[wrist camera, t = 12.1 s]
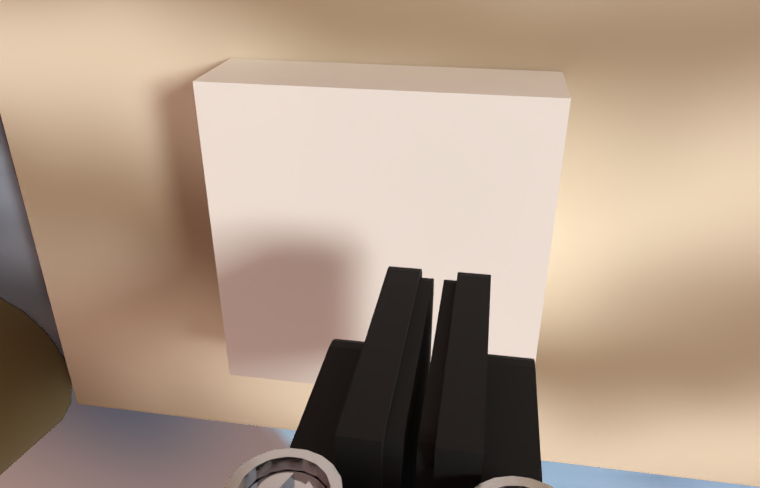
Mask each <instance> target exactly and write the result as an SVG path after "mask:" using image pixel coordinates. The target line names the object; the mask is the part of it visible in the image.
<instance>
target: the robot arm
mask: <svg viewBox="0 0 760 488" xmlns="http://www.w3.org/2000/svg"><path fill="white" fill-rule="evenodd" d="M490 289H491V275H489V274H477V273H465V272H458V274H457V281H456V280H444V282H443V289H442V295H441V301H440V307H439V313H438V319H437V325H436V332H435V338H434V344H433V350H432V356H431V339H432V317H433V295H434V279H433V278H422V269H417V268H405V267H393V266H389V267H388V269H387V272H386V275H385V279H384V282H383V285H382V288H381V291H380V294H379V298H378V301H377V304H376V307H375V310H374V313H373V317H372V320H371V323H370V326H369V329H368V332H367V336H366V339H365V342H363V341H353V340H343V339H334V340H332V342H331V344H330V346H329V348H328V351H327V353H326V356H325V359H324V361H323V364H322V366H321V369H320V371H319V374H318V376H317V379H316V382H315V384H314V387H313V389H312V392H311V394H310V397H309V400H308V402H307V405H306V407H305V410H304V412H303V415H302V417H301V420H300V423H299V425H298V428H297V430H296V433H295V435H294V438H293V441H292V443H291V446H290V448H286V449H277V450H272V451H269V452H266V453H263V454H260V455H257V456H255V457H254V458H252V459H251V460H249V461H248V462H246V463H244V464H243V465H241V467H240V468H239V469H238V470H237V471H236V472H235V473H234V474H233V475H232V476H231V477H230V479H229V480H228V482H227V483H226V485H225V486H224V488H553V487H551V486H550V485H548V484H545V483H542V470H541V453H540V436H539V419H538V402H537V385H536V368H535V360H534V359H532V358H522V357H512V356H502V355H493V354H488V337H489V313H490ZM430 361H431V362H430Z"/></svg>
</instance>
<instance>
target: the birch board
mask: <svg viewBox="0 0 760 488" xmlns="http://www.w3.org/2000/svg"><path fill="white" fill-rule="evenodd" d="M230 58H233V59H258V60H283V61H308V62H333V63H358V64H383V65H408V66H433V67H458V68H483V69H507V70H532V71H557V72H563V74H564V77H565V81H566V84H567V87H568V90H569V94H570V97H571V102H570V110H569V117H568V125H567V132H566V139H565V147H564V154H563V162H562V169H561V176H560V184H559V191H558V199H557V206H556V214H555V221H554V228H553V236H552V243H551V251H550V258H549V266H548V273H547V280H546V288H545V295H544V303H543V310H542V317H541V325H540V332H539V340H538V347H537V355H536V362H535V368H536V385H537V402H538V419H539V436H540V453H541V460H544V461H552V462H560V463H569V464H577V465H585V466H593V467H601V468H610V469H618V470H626V471H634V472H643V473H651V474H659V475H667V476H675V477H684V478H692V479H700V480H708V481H717V482H725V483H733V484H741V485H749V486H758V487H760V0H0V114H1V118H2V122H3V125H4V129H5V133H6V137H7V141H8V144H9V148H10V152H11V156H12V159H13V163H14V167H15V171H16V175H17V178H18V182H19V186H20V190H21V193H22V197H23V201H24V205H25V209H26V212H27V216H28V220H29V224H30V227H31V231H32V235H33V239H34V243H35V246H36V250H37V254H38V258H39V262H40V265H41V269H42V273H43V277H44V280H45V284H46V288H47V292H48V296H49V299H50V303H51V307H52V311H53V314H54V318H55V322H56V326H57V330H58V333H59V337H60V341H61V345H62V348H63V352H64V356H65V360H66V364H67V367H68V371H69V375H70V379H71V382H72V386H73V390H74V394H75V398H76V401H77V404H83V405H92V406H100V407H108V408H116V409H124V410H133V411H141V412H149V413H158V414H166V415H174V416H182V417H190V418H199V419H207V420H215V421H224V422H231V423H240V424H248V425H256V426H264V427H273V428H281V429H289V430H297V428H298V425H299V423H300V420H301V417H302V415H303V412H304V410H305V407H306V405H307V402H308V400H309V397H310V394H311V392H312V389H313V387H314V384H309V383H300V382H291V381H282V380H273V379H264V378H255V377H246V376H237V375H230V373H229V365H228V357H227V349H226V341H225V333H224V325H223V317H222V310H221V302H220V294H219V286H218V278H217V270H216V262H215V254H214V246H213V239H212V231H211V223H210V215H209V207H208V199H207V191H206V183H205V175H204V168H203V160H202V152H201V144H200V136H199V128H198V120H197V112H196V104H195V96H194V89H193V81H194V80H195V79H197V78H199V77H200V76H202V75H204V74H205V73H207V72H209V71H210V70H212V69H214V68H215V67H217V66H219V65H220V64H222V63H223V62H225V61H227V60H228V59H230Z"/></svg>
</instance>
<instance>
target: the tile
mask: <svg viewBox="0 0 760 488" xmlns="http://www.w3.org/2000/svg"><path fill="white" fill-rule="evenodd" d="M193 89H194V96H195V104H196V112H197V120H198V128H199V136H200V144H201V152H202V160H203V168H204V175H205V183H206V191H207V199H208V207H209V215H210V223H211V231H212V239H213V246H214V254H215V262H216V270H217V278H218V286H219V294H220V302H221V310H222V317H223V325H224V333H225V341H226V349H227V357H228V365H229V373H230V375H237V376H246V377H255V378H264V379H273V380H282V381H291V382H300V383H309V384H315V382H316V379H317V376H318V374H319V371H320V369H321V366H322V364H323V361H324V359H325V356H326V353H327V351H328V348H329V346H330V344H331V342H332V340H334V339H343V340H353V341H363V342H365V339H366V336H367V332H368V329H369V326H370V323H371V320H372V317H373V313H374V310H375V307H376V304H377V301H378V298H379V294H380V291H381V288H382V285H383V282H384V279H385V275H386V272H387V269H388V267H389V266H393V267H405V268H417V269H422V278H433V279H434V295H433V317H432V339H431V356H432V350H433V344H434V338H435V332H436V325H437V319H438V313H439V307H440V301H441V295H442V289H443V282H444V280H456V281H457V274H458V272H465V273H477V274H489V275H491V289H490V313H489V337H488V354H493V355H502V356H512V357H522V358H532V359H534V360H535V362H536V355H537V347H538V340H539V332H540V325H541V317H542V310H543V303H544V295H545V288H546V280H547V273H548V266H549V258H550V251H551V243H552V236H553V228H554V221H555V214H556V206H557V199H558V191H559V184H560V176H561V169H562V162H563V154H564V147H565V139H566V132H567V125H568V117H569V110H570V102H571V97H570V94H569V90H568V87H567V84H566V81H565V77H564V74H563V72H557V71H532V70H507V69H483V68H458V67H433V66H408V65H383V64H358V63H333V62H308V61H283V60H258V59H233V58H230V59H228V60H227V61H225V62H223V63H222V64H220V65H219V66H217V67H215V68H214V69H212V70H210V71H209V72H207V73H205V74H204V75H202V76H200V77H199V78H197V79H195V80H194V81H193ZM430 362H431V361H430Z"/></svg>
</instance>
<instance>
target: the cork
mask: <svg viewBox="0 0 760 488" xmlns="http://www.w3.org/2000/svg"><path fill="white" fill-rule="evenodd" d="M70 404H71V379H70V375H69V372H68V369H67V367H66V364H65V361H64V358H63V356H62V355H61V353H60V352H59V350H58V349H57V347H56V346H55V345H54V343H53V342H52V340H51V339H50V337H49V336H48V334H47V333H46V332H45V331H44V330H43V329H42V328H40V327H39V326H38V325H37V324H36V323H35V322H34V321H33V320H32V319H31V318H29V317H28V316H27V315H26V314H25V313H24V312H23V311H21V310H19V309H18V308H16V307H14V306H12V305H11V304H9V303H7V302H5V301H4V300H2V299H0V475H1V474H2V473H3V472H4V471H5V470H6V469H8V468H9V467H10V466H11V465H12V464H13V463H14V462H15V461H16V460H17V459H19V458H20V457H21V456H22V455H23V454H24V453H25V452H27V451H28V450H29V449H30V448H31V447H32V446H33V445H34V444H36V443H37V442H38V441H39V440H40V439H41V438H42V437H43V436H45V435H46V434H47V433H48V432H49V431H50V430H51V429H52V428H54V427H55V426H56V425H57V424H58V423H59V422H60V421H61V420H62V419H63V417H64V415H65V413H66V412H67V409H68V408H69V406H70Z"/></svg>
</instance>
